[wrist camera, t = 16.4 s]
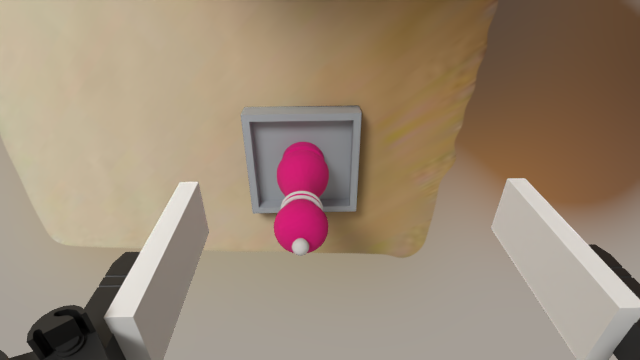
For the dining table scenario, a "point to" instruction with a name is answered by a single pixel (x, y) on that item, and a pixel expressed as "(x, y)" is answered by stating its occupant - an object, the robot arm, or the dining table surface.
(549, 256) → the robot arm
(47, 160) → the dining table surface
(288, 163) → the pepper mill
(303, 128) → the tray
